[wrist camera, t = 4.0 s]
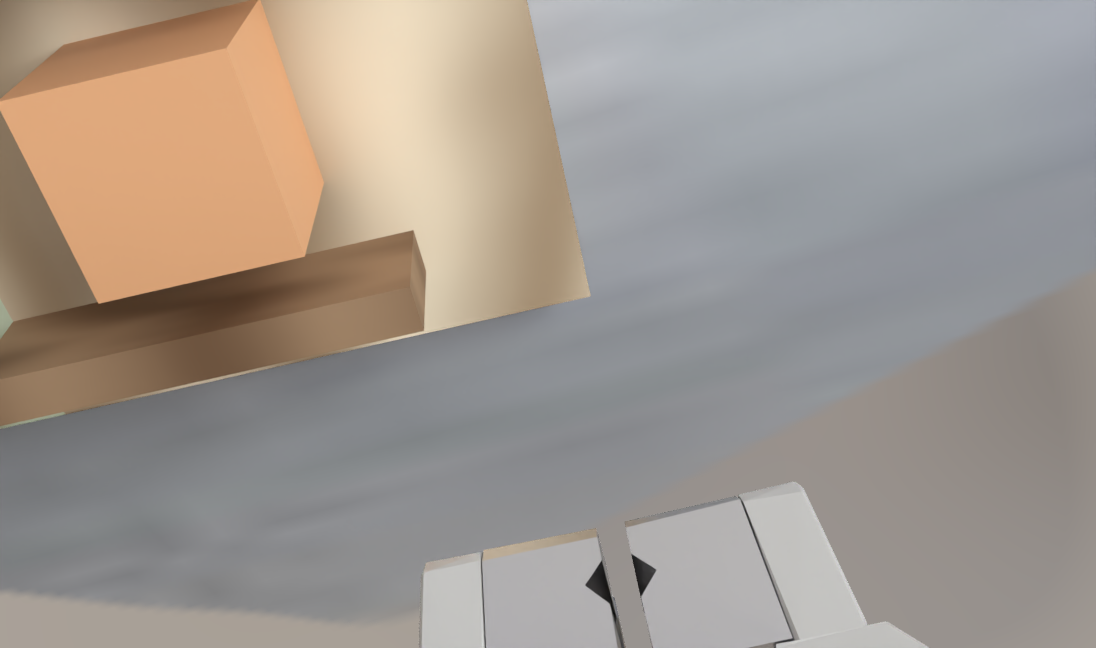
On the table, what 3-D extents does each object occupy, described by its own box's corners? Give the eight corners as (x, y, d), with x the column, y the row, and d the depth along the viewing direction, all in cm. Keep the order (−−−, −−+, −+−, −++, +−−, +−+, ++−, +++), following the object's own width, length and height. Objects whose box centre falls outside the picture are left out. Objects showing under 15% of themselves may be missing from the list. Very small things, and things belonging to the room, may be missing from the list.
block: (145, 223, 25) (98, 304, 22) (63, 44, 23) (-4, 102, 19) (323, 182, 25) (304, 256, 21) (259, -2, 23) (226, 47, 19)
